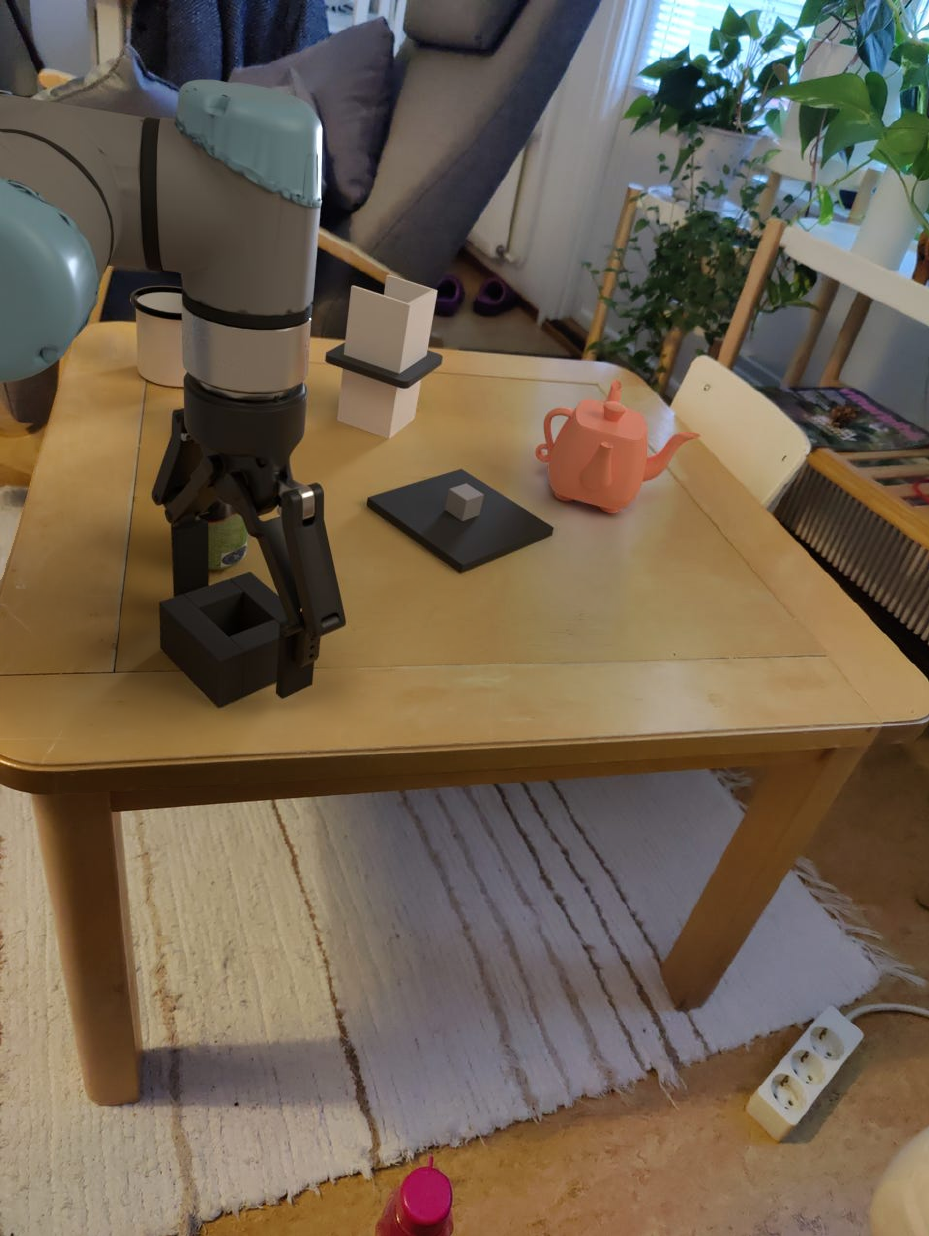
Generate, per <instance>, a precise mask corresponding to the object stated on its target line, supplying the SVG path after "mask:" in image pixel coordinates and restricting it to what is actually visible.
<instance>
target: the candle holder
mask: <svg viewBox="0 0 929 1236" xmlns="http://www.w3.org/2000/svg"><path fill="white" fill-rule="evenodd" d="M385 276H386V277H385V285H384V292H383V294H381V293H379V292H375V291H372V290H369V289H366V288H363V287H360V286H357V285H351V287H350V295H349V296H350V297H349V305H348V313H347V314H348V315H347V321H346V322H347V324H346V330H345V331H346V332H345V341H344V342H343V343H341V344H339V345H337V346H335V347H333V348H332V349H330V350H327V351H326V352H325V358H324V362H326V363H327V364H329V365H332V366H333V367H334V366H335V367H338V368H340V369H342V372H341V382H340V390H339V399H338V408H337V416H336V421H337V422H341V423H342V424H345V425H349V426H351V427H354V428H357V429H359V430H363V431H366V432H368V433H371V434H373V435H376V436H379V437H383V438H385V439H388V440H391V438H392V437H394V436H395V435H396V434H397V433H399V432H400V431H401V430H402V429H403V428H405V427H406V426H408V424H410V423H411V422H413V421H414V420H415V418H416V413H417V407H418V400H419V396H420V390H421V384H422V379H423V378H425V377H426V376H427V375H429V374H430V373H432V372H433V371H434V370H436V369H437V368H439V367H440V366H442V363H443V358H444V356H443V355H442V354H440V353H437V352H434V351H432V350H429V344H430V337H431V331H432V326H433V319H434V315H435V308H436V303H437V302H436V301H437V297H438V290H437V289H435V288H431V287H428V286H426V285H422V284H419V283H416V282H413V281H410V280H407V279H403V278H400V277H397V276H394V275H391V274H386V275H385Z"/></svg>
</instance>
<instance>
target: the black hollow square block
mask: <svg viewBox="0 0 929 1236" xmlns="http://www.w3.org/2000/svg"><path fill="white" fill-rule="evenodd" d="M158 609H159V610H158V613H159V614H158V615H159V616H158V617H159V649H160V650H161V651H162V652H163V653H164V654H165V655H166V656H167V657H168V658H169V659H170V660H171V661H172V662H173V664H175V665H176V666H177V668H179V670H181V672H182V673H184V674H185V675H186V676H187V678H188V679H189V680H190V681H191V682H192V683H193V684H194V685H195V686H196V687H197V688H198V689H199V690H200V691H201V692H202V693H203V694H204V695H205V696H206V697H207V698H208V699H209V700H210V701H211V702H212V704H213V705H214V706H216V707H217V708H218V709H221V708H223V707H226V706H227V705H229V704H231V703H234V702H235V701H238V700H240V699H242V698H244V697H247V696H248V695H251V694H253V693H256V692H258V691H260V690H262V689H264V688H267V687H269V686H271V685H274V684H276V679H277V662H278V645H279V628H280V622H283V621H285V620H287V617H286V615H285V612H284V609H283V607H282V604H281V601H280V599H279V596H278V593H277V592H275V591H274V590H273V589H271V588H270V587H269V586H268V585H267V584H266V583H264V582H263V581H262V579H259V577H258V576H256V575H255V574H254V573H253V572H252V571H247V572H245V573H241V574H240V575H236V576H233V577H230V578H227V579H224V580H221V581H218V582H215V583H212V584H209V586H206V587H203V588H200V589H197V590H194V591H191V592H188V593H186V594H184V595H183V594H182V595H179V596H176V597H174V596H173V597H170V598H168V599H165V600H162V601H159V602H158Z"/></svg>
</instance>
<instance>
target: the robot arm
mask: <svg viewBox="0 0 929 1236" xmlns="http://www.w3.org/2000/svg"><path fill="white" fill-rule="evenodd" d="M177 93H178V94H177V104H176V105H177V106H176V108H175V110H174V112H173V117H172V118H171V117H163V116H161V117H160V118H155V117H149V116H147V117H144V116H138V115H133V114H126V113H121V112H114V111H109V110H102V109H97V108H91V107H83V106H79V105H73V104H67V103H60V102H54V101H49V100H42V99H37V98H31V97H26V96H19V95H16V94H15V95H14V94H13V93H12V92H11V91H9V90H3V89H2V90H1V89H0V384H5V383H12V382H18V381H21V380H25V379H28V378H31V377H33V376H37V375H38V374H40V373H42V372H44V371H45V370H47V369H48V368H50V367H51V366H53V365H54V364H55V363H57V361H59V360H61V359H62V358H64V357H65V354H66V353H67V351H68V349H69V347H70V346H71V345H72V343H73V341H74V339H76V338H77V337H78V336H79V335H80V334H81V333H82V332H83V330H84V329H85V328H86V327H87V325H88V324H89V323H90V322H91V321H90V320H91V315H92V312H93V311H94V309H95V308H96V306H97V304H98V301H99V291H100V288H101V287H100V285H101V283H102V280H103V277H104V274H105V273H106V271H107V269H108V267H117V268H125V269H134V270H142V271H143V270H144V271H151V272H152V271H154V272H161V273H163V272H173V273H174V272H175V273H179V274H180V278H181V288H182V361H183V367H184V368H185V369H186V371H187V373H186V375H185V376H184V387H183V407H182V408H181V407H180V408H176V409H173V410H172V413H171V429H170V430H171V434H170V437H169V440H168V443H167V446H166V448H165V453H164V455H163V458H162V460H161V464H160V466H159V469H158V472H157V475H156V478H155V480H154V485H153V487H152V490H151V500H152V502H153V503H154V504H155V506H158V507H159V506H163V507H164V517H165V520H166V521H167V523H168V524H170V536H171V537H170V538H171V539H170V540H171V542H170V543H171V556H172V557H171V562H172V589H173V590H172V591H173V593H172V594H173V597H176V596H179V595H182V594H183V595H184V594H186V593H188V592H191V591H194V590H197V589H200V588H203V587H206V586H209V585H210V581H209V580H210V576H209V575H210V569H209V523H208V522H207V521H205V520H204V519H200V520H196V517H197V516H200V515H204V514H207V513H209V512H206V511H205V510H208V509H207V508H208V507H209V506H210V505H211V504H212V503H213V502H214V501H215V500H216V499H217V498H219V499H220V500H221V501H222V502H224V503H226V504H228V505H231V506H232V508H233V509H234V510H235V511H236V512H237V514H239V515H240V516H241V517H242V519H243V522H244V524H245V527H246V530H247V532H248V534H249V537H252V538H255V539H256V540H257V542H258V545H259V548H260V551H261V553H262V556H263V558H264V561H265V564H266V566H267V569H268V572H269V574H270V577H271V579H272V582H273V586H274V588H275V591H276V594H277V595H278V596H279V599H280V601H281V604H282V607H283V609H284V612H285V615H286V617H287V620H285V621H283V622H280V628H279V645H278V662H277V679H276V683H275V694H276V695H277V696H278V697H279V698H280V699H282V700H284V699H285V698H288V697H289V696H292V695H293V694H296V693H299V692H300V691H302V690H304V689H307V688H308V687H310V686H312V685H313V681H314V680H313V679H314V671H315V670H314V669H315V662H316V661H318V659H319V658H320V648H321V640H322V637H323V636H326V635H329V634H330V633H333V632H335V631H337V630H339V629H342V628H344V627H346V624H347V620H346V614H345V609H344V605H343V600H342V595H341V591H340V586H339V581H338V577H337V572H336V569H335V568H336V567H335V563H334V558H333V555H332V549H331V545H330V541H329V536H328V531H327V526H326V521H325V491H324V488H323V486H322V485H321V484H320V483H319V482H313V483H309V484H306V485H304V484H302V483H300V482H299V481H296V480H295V479H294V476H293V472H292V467H291V456H292V454H293V452H294V451H295V449H296V448H297V446H298V445H299V444H300V443H301V441H302V439H303V438H304V436H305V431H306V429H305V428H306V427H305V426H306V415H307V414H306V413H307V403H308V402H307V400H308V387H307V385H306V383H305V382H304V381H305V380H307V377H308V375H309V362H310V361H309V360H310V344H311V343H310V342H311V327H312V315H313V305H314V304H313V303H314V295H315V294H314V292H315V282H316V281H315V280H316V269H317V256H318V244H319V235H320V234H319V231H320V222H321V221H320V219H321V207H322V203H323V200H322V164H323V163H322V161H323V158H322V157H323V126H322V122H321V120H320V118H319V116H318V115H317V113H316V112H315V109H314V108H313V107H312V106H311V105H310V104H309V103H308V102H306V101H305V100H304V99H301V98H300V97H297V96H295V95H292V94H290V93H287V92H284V91H281V90H277V89H273V88H269V87H265V86H260V85H255V84H251V83H244V82H237V81H231V82H229V81H222V80H218V79H194V80H190V81H187V82H185V83H184V84H182V85H181V87H180V89H179V91H178V92H177ZM275 509H276V512H277V514H278V515H279V516H277V517H274V518H270V519H268V520H267V519H266V520H261V518H260V516H261V517H262V516H264V515H268V514H271V513H272V512H273V511H274V510H275Z"/></svg>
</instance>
